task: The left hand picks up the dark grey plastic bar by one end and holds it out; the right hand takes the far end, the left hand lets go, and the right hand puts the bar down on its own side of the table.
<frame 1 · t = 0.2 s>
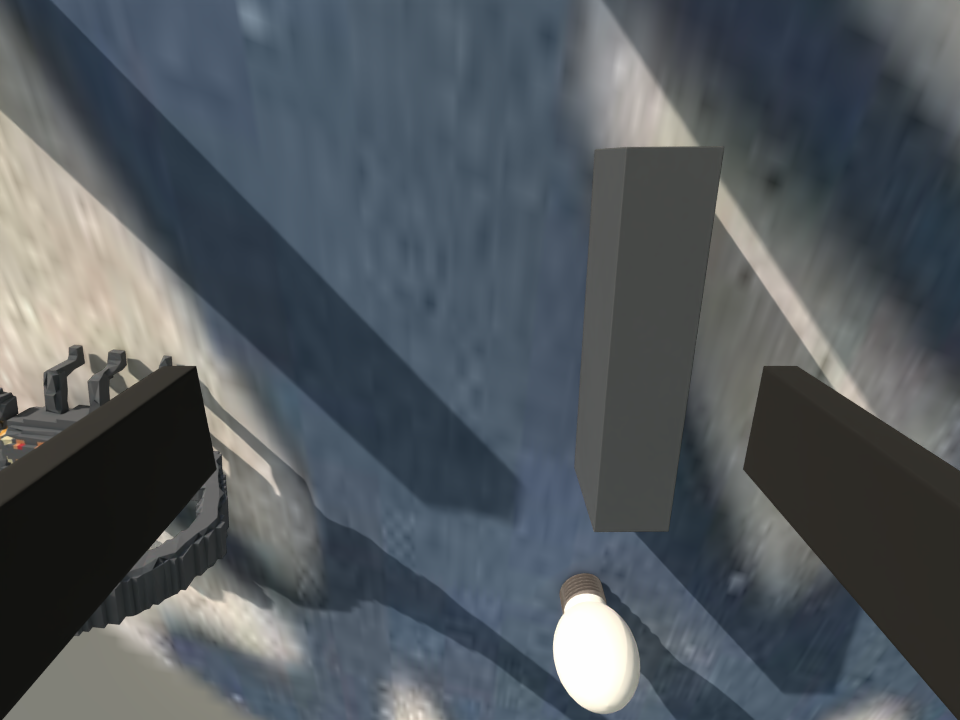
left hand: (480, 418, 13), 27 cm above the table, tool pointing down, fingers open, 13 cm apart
light bulb: (580, 589, 49), on the table
toy: (115, 418, 43), on the table
bar: (617, 325, 40), on the table
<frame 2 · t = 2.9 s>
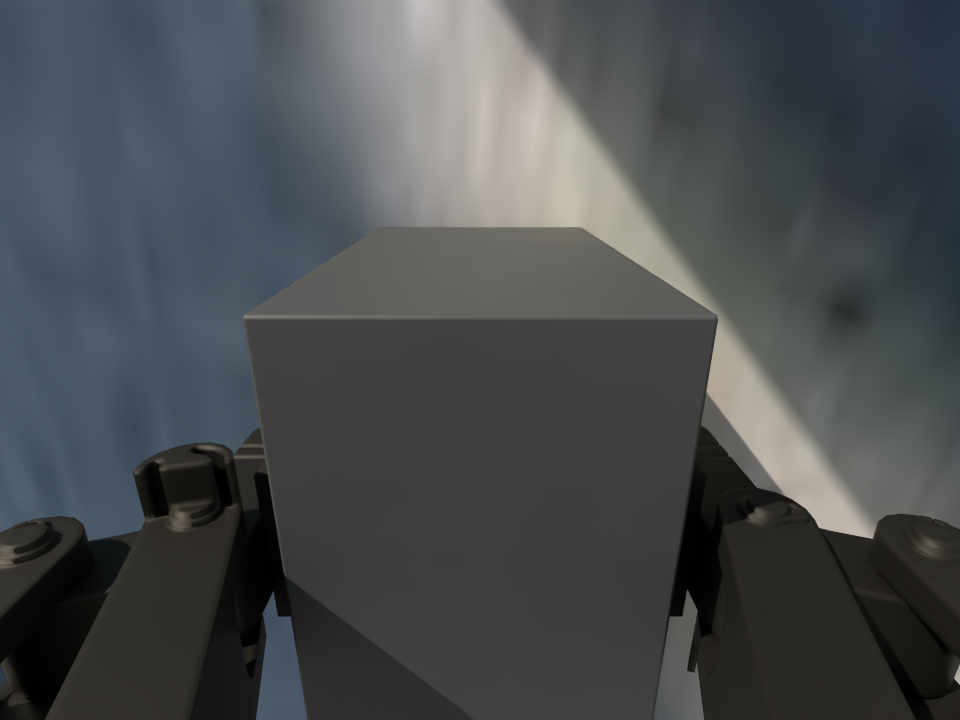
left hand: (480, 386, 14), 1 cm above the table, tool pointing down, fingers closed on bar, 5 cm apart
bar: (480, 607, 18), on the table, touching left hand
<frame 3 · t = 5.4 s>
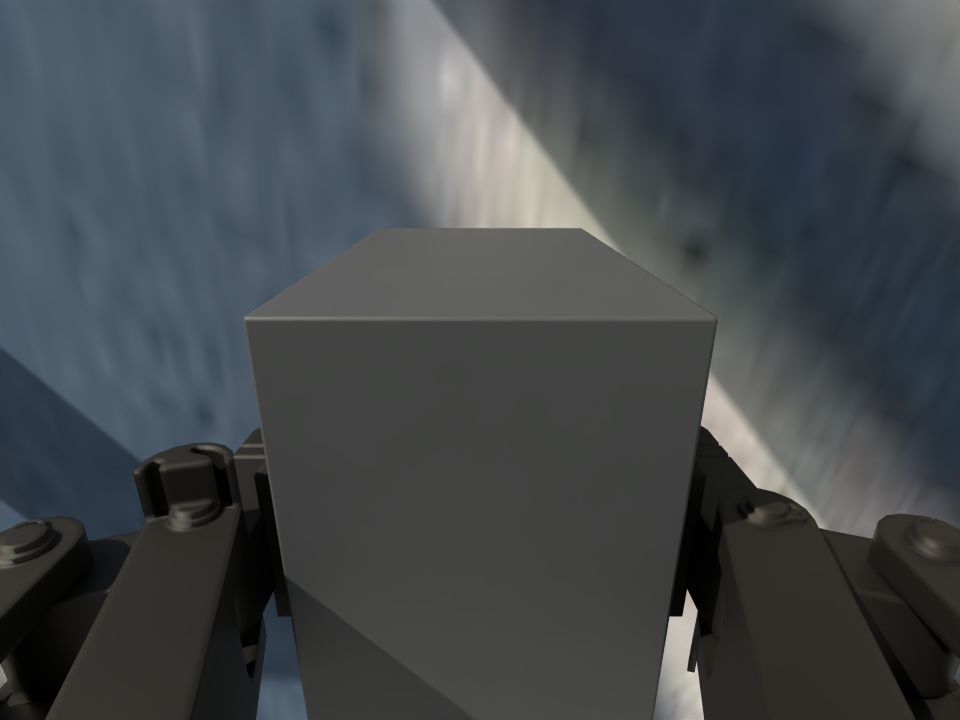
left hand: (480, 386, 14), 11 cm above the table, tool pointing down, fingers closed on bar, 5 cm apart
bar: (480, 607, 18), point 11 cm above the table, touching left hand
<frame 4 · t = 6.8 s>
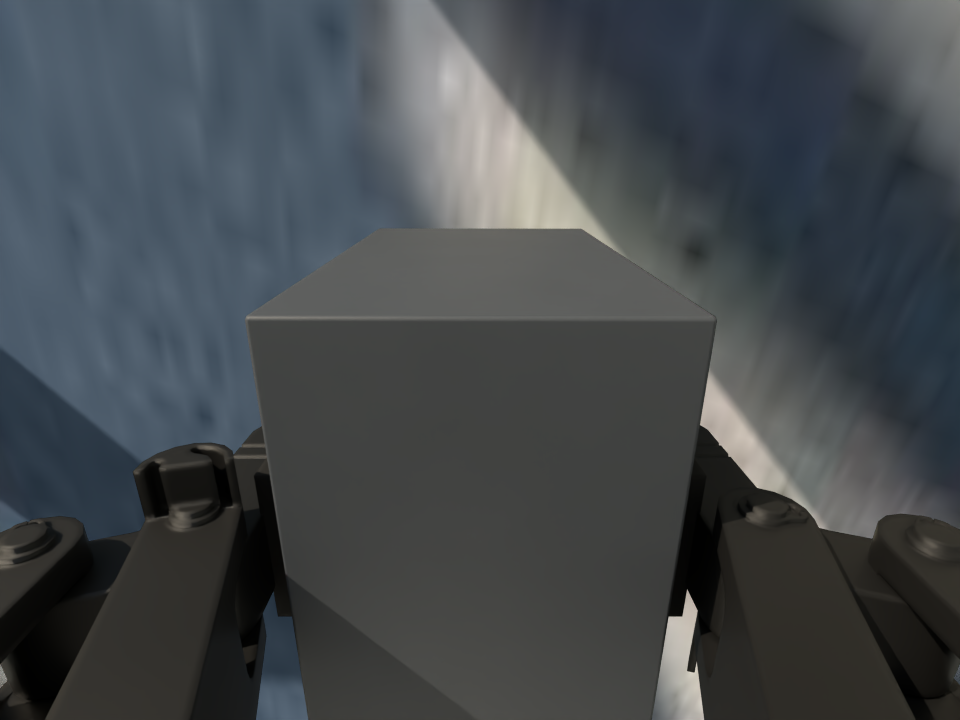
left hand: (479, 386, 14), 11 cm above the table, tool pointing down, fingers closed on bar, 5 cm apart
bar: (479, 607, 18), point 11 cm above the table, touching left hand, right hand
when the left hand's fingers open (11 cm above the table, at t = 7.7 s): bar stays where it is, held by the right hand.
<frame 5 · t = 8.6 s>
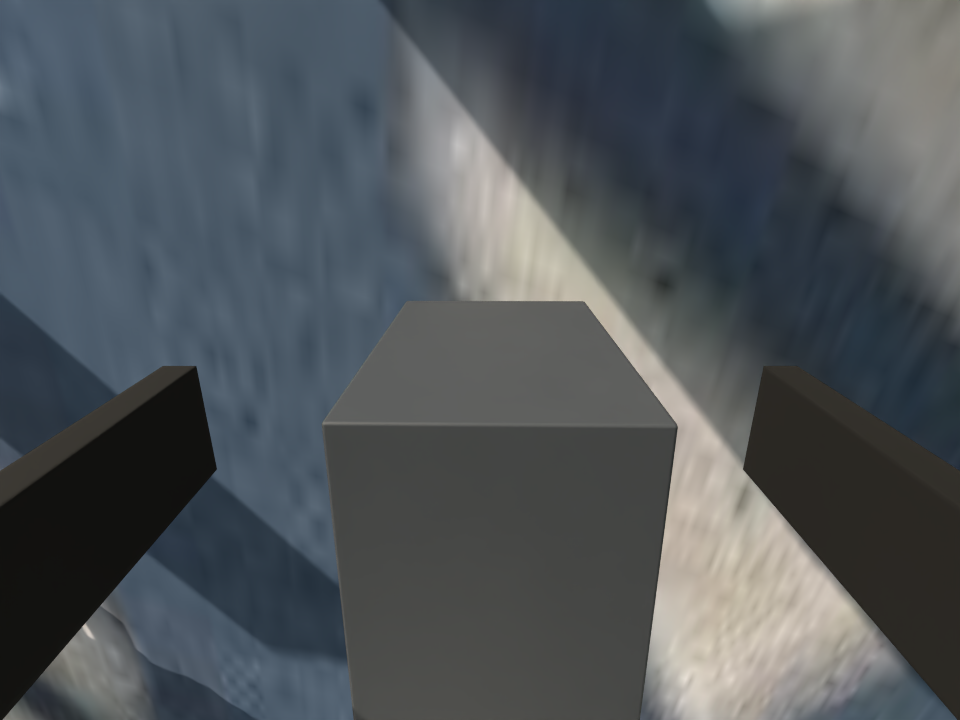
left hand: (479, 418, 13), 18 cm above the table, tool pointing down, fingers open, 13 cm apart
bar: (492, 633, 19), point 14 cm above the table, touching right hand
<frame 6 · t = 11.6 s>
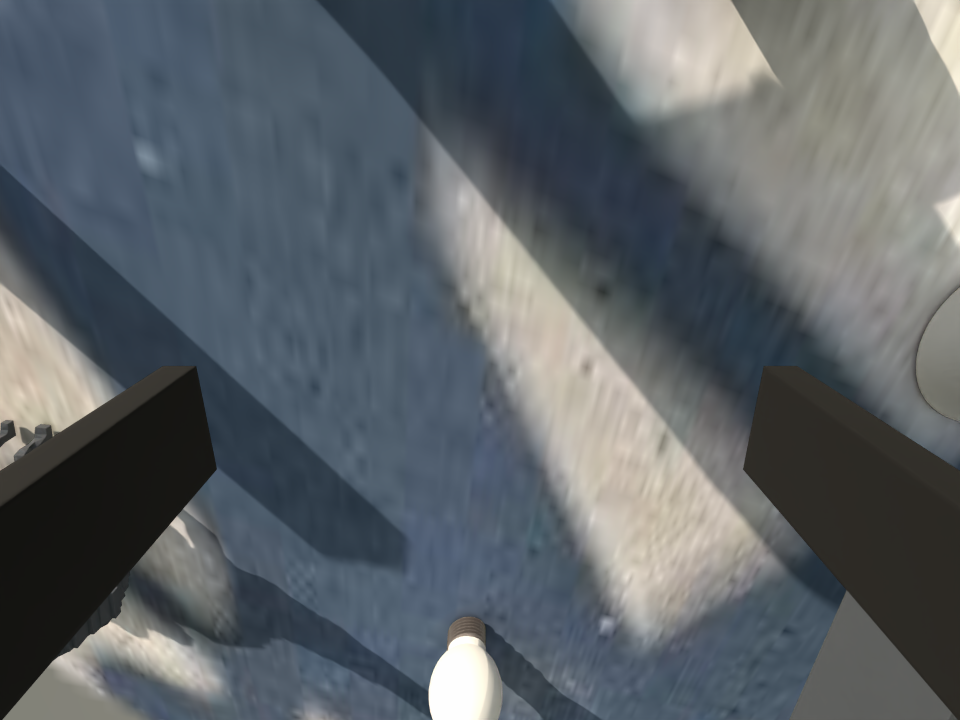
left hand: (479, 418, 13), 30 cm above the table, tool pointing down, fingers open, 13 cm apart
light bulb: (467, 630, 55), on the table
toy: (44, 481, 49), on the table
when the right hand's fingers open (4 cm above the table, at t = 16.4 s): bar stays where it is, on the table.
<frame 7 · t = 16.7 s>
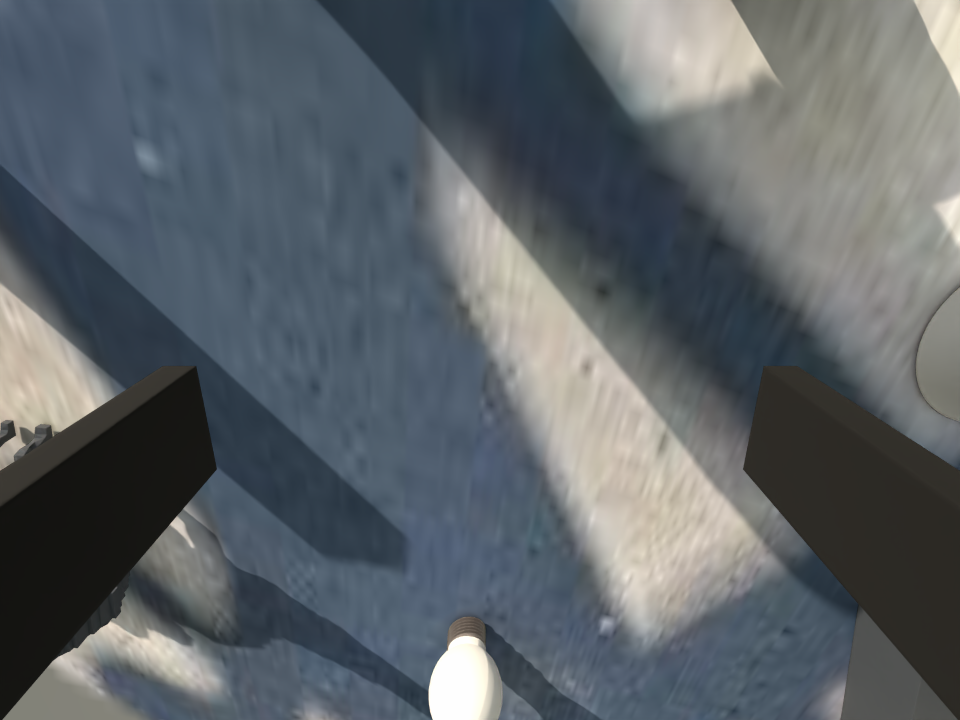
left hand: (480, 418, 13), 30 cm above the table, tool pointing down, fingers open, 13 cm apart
light bulb: (467, 630, 55), on the table
toy: (44, 481, 49), on the table
bar: (870, 681, 58), on the table
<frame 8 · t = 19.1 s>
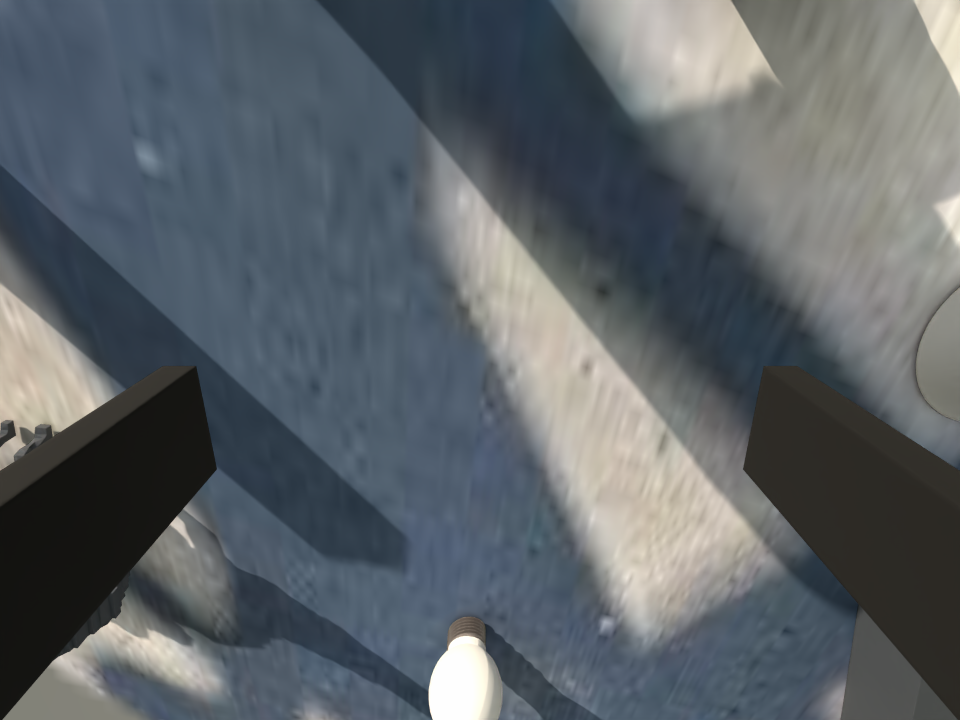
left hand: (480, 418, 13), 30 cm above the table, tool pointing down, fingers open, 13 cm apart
light bulb: (467, 630, 55), on the table
toy: (44, 481, 49), on the table
bar: (870, 681, 58), on the table
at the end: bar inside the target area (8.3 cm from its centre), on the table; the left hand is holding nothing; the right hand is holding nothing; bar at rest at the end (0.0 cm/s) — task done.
